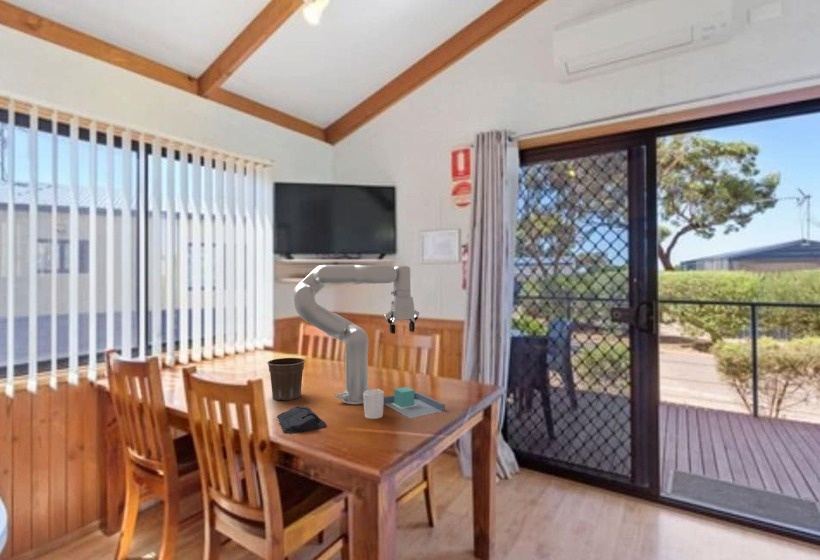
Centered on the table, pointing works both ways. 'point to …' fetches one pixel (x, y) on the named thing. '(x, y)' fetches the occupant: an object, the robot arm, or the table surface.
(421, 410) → the tray
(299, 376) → the plant pot
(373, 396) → the white cup
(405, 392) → the teal cube
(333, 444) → the table surface
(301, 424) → the dark slate chunk
